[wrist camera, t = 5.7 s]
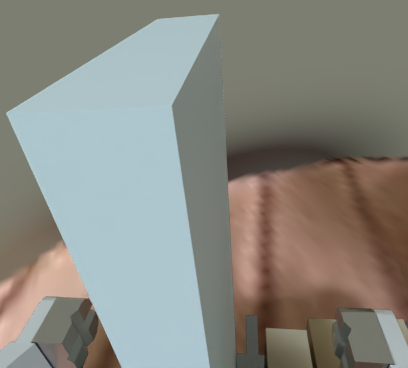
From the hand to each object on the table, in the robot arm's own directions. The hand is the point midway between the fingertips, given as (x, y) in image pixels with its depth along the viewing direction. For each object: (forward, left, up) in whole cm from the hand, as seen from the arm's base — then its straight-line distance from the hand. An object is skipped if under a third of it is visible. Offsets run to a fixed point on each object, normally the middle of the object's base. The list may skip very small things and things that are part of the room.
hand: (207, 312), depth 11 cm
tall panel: (0, +1, -12) cm, 12 cm away
